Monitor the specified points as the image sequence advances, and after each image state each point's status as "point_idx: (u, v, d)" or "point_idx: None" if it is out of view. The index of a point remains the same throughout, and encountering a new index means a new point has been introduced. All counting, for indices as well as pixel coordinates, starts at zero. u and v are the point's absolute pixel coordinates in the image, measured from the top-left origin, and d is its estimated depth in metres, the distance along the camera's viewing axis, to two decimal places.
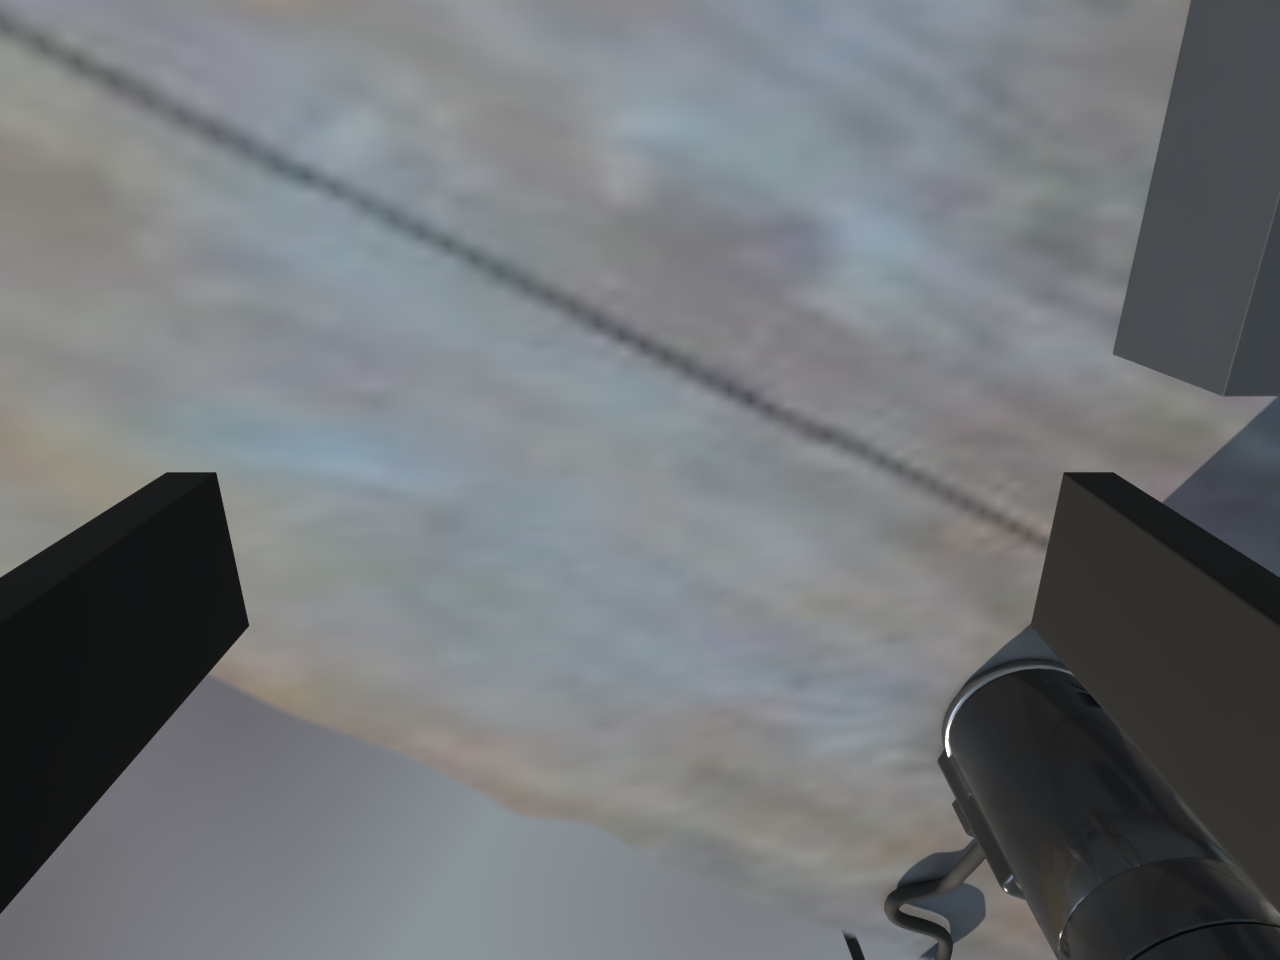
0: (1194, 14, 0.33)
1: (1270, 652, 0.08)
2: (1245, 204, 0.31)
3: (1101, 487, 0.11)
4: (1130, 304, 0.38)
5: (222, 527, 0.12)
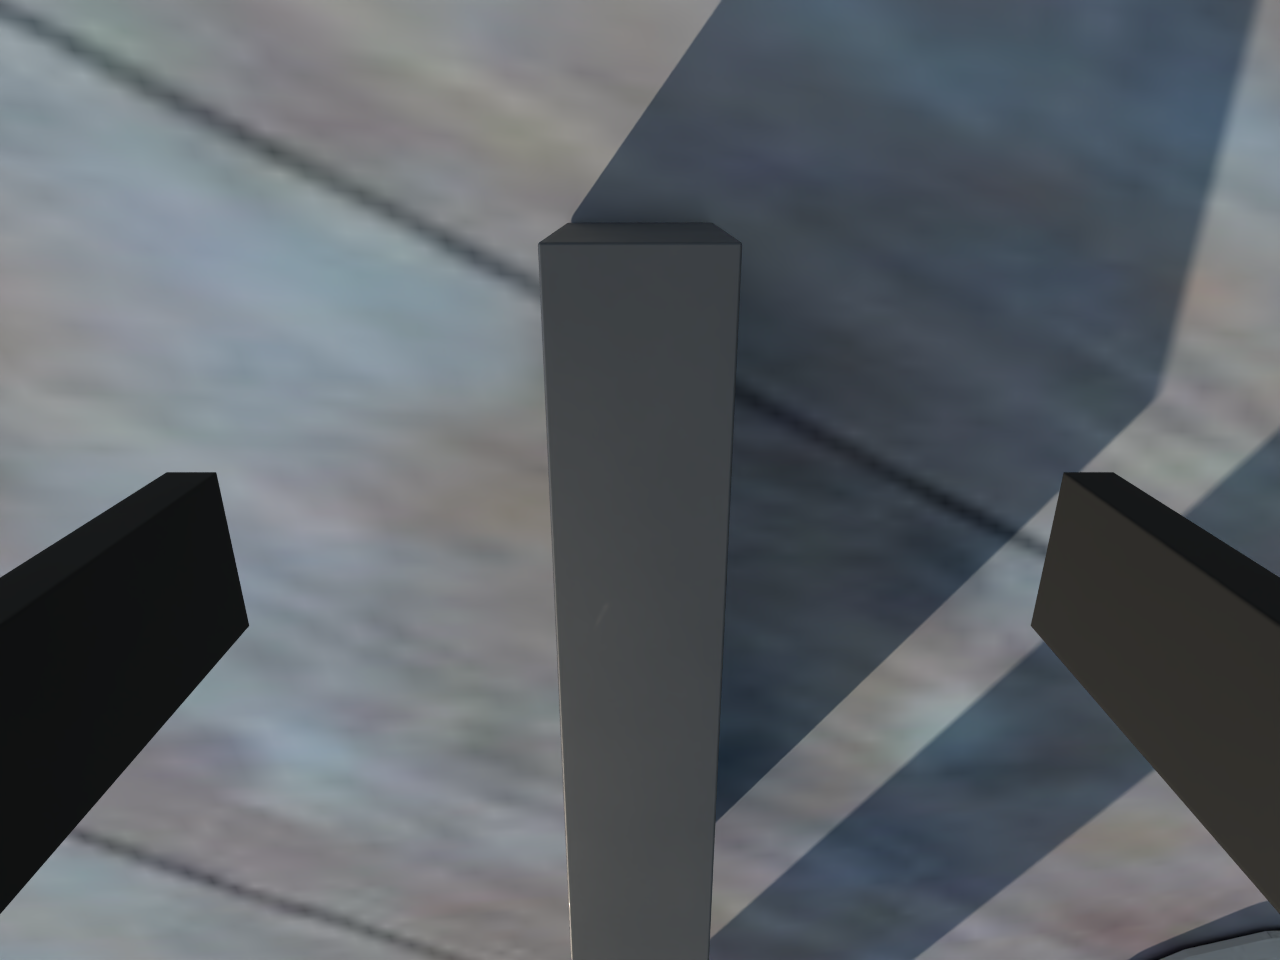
0: None
1: (1269, 652, 0.08)
2: None
3: (1101, 487, 0.11)
4: None
5: (222, 527, 0.12)
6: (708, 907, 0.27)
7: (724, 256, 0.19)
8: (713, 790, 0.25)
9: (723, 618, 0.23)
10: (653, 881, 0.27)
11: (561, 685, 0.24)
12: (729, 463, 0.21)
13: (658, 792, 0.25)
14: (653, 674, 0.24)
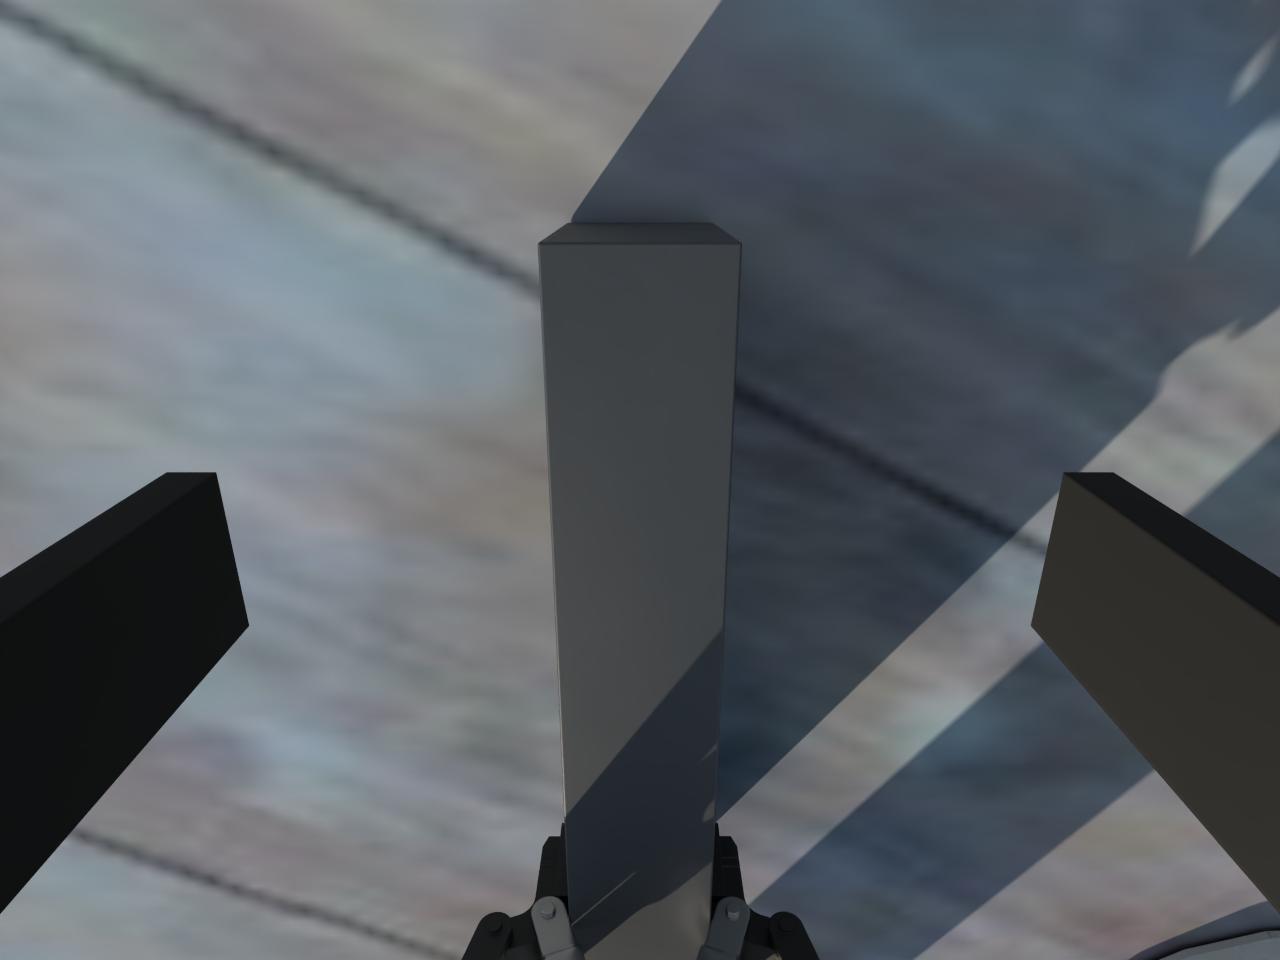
0: None
1: (1269, 652, 0.08)
2: None
3: (1101, 487, 0.11)
4: None
5: (222, 527, 0.12)
6: (708, 907, 0.27)
7: (724, 256, 0.19)
8: (713, 790, 0.25)
9: (723, 618, 0.23)
10: (653, 881, 0.27)
11: (561, 685, 0.24)
12: (729, 463, 0.21)
13: (658, 792, 0.25)
14: (653, 674, 0.24)
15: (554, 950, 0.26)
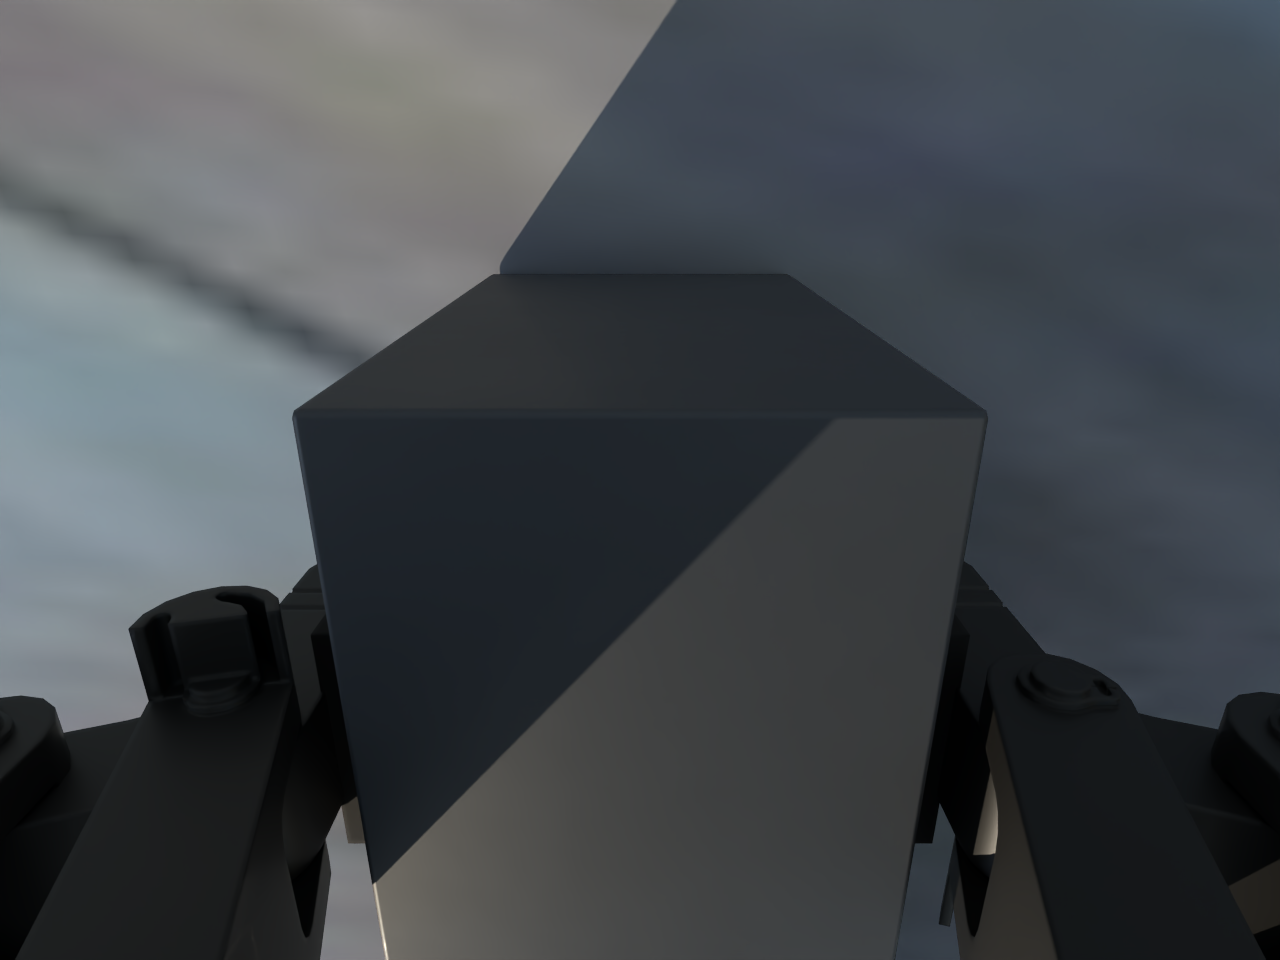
0: None
1: None
2: None
3: None
4: None
5: None
6: None
7: (927, 455, 0.06)
8: None
9: None
10: None
11: None
12: None
13: None
14: None
15: None
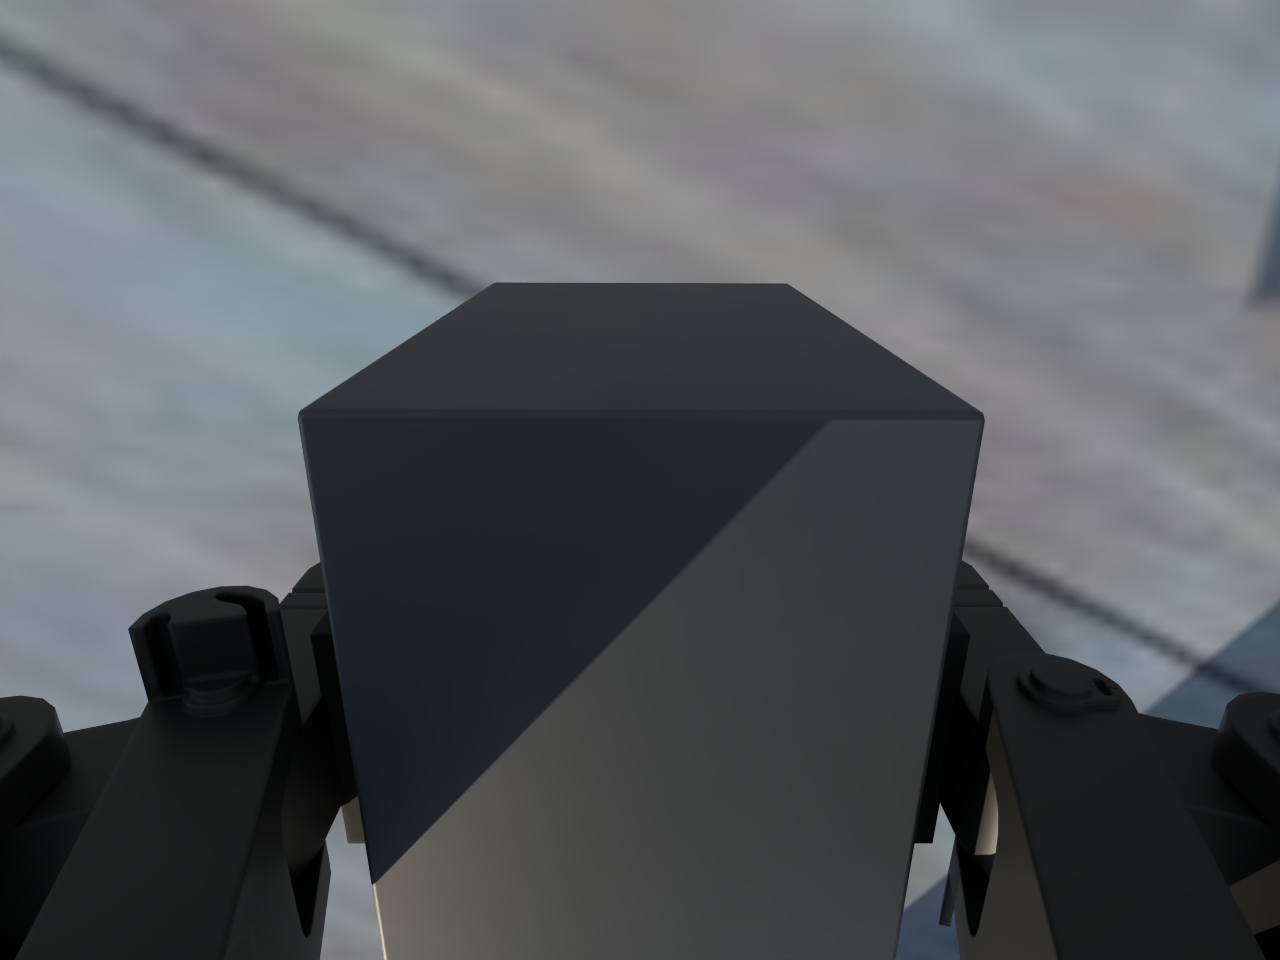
0: None
1: None
2: None
3: None
4: None
5: None
6: None
7: (925, 456, 0.06)
8: None
9: None
10: None
11: None
12: None
13: None
14: None
15: None
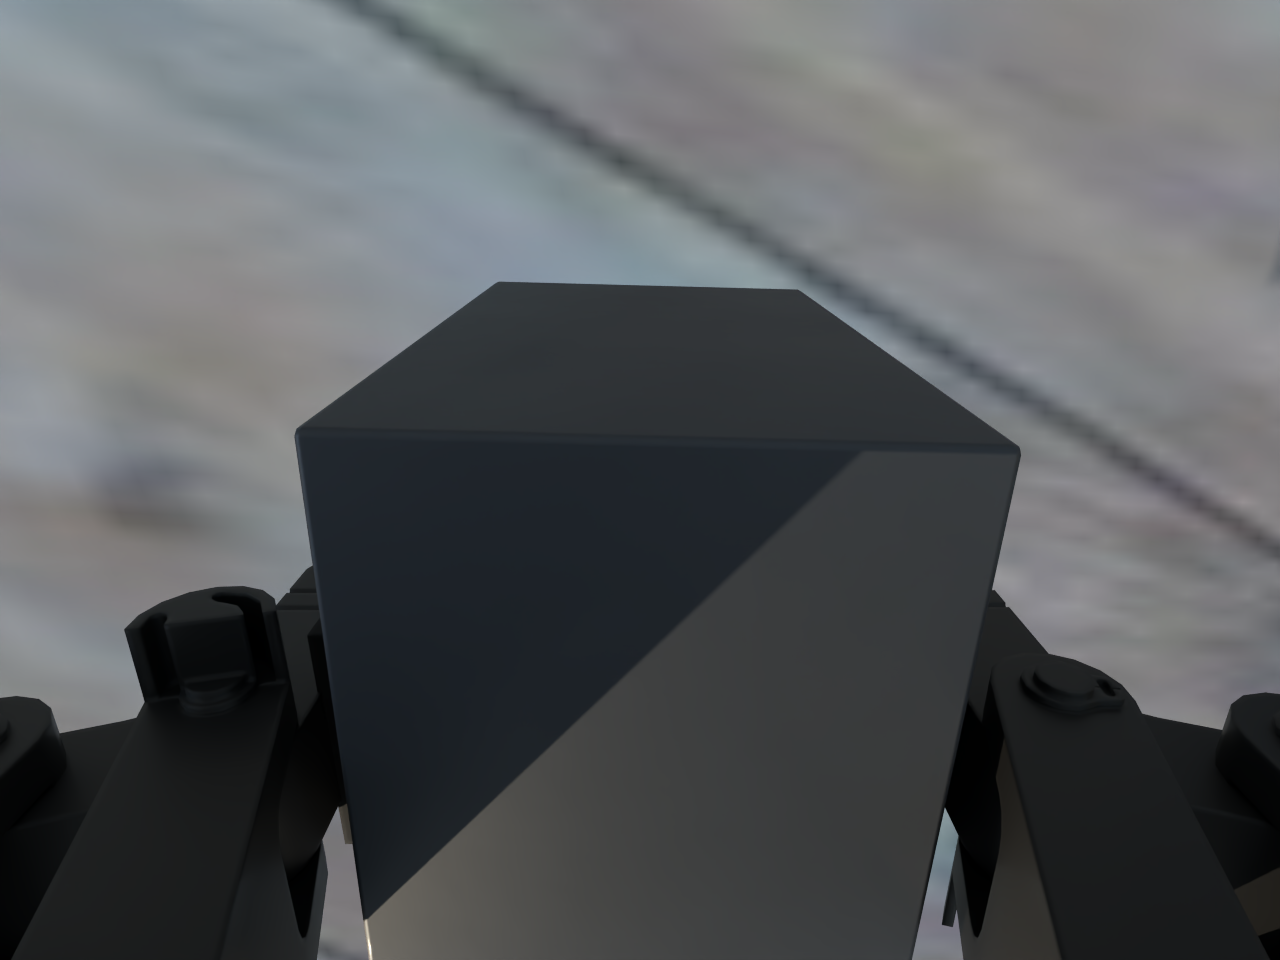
0: None
1: None
2: None
3: None
4: None
5: None
6: None
7: (956, 490, 0.05)
8: None
9: None
10: None
11: None
12: None
13: None
14: None
15: None
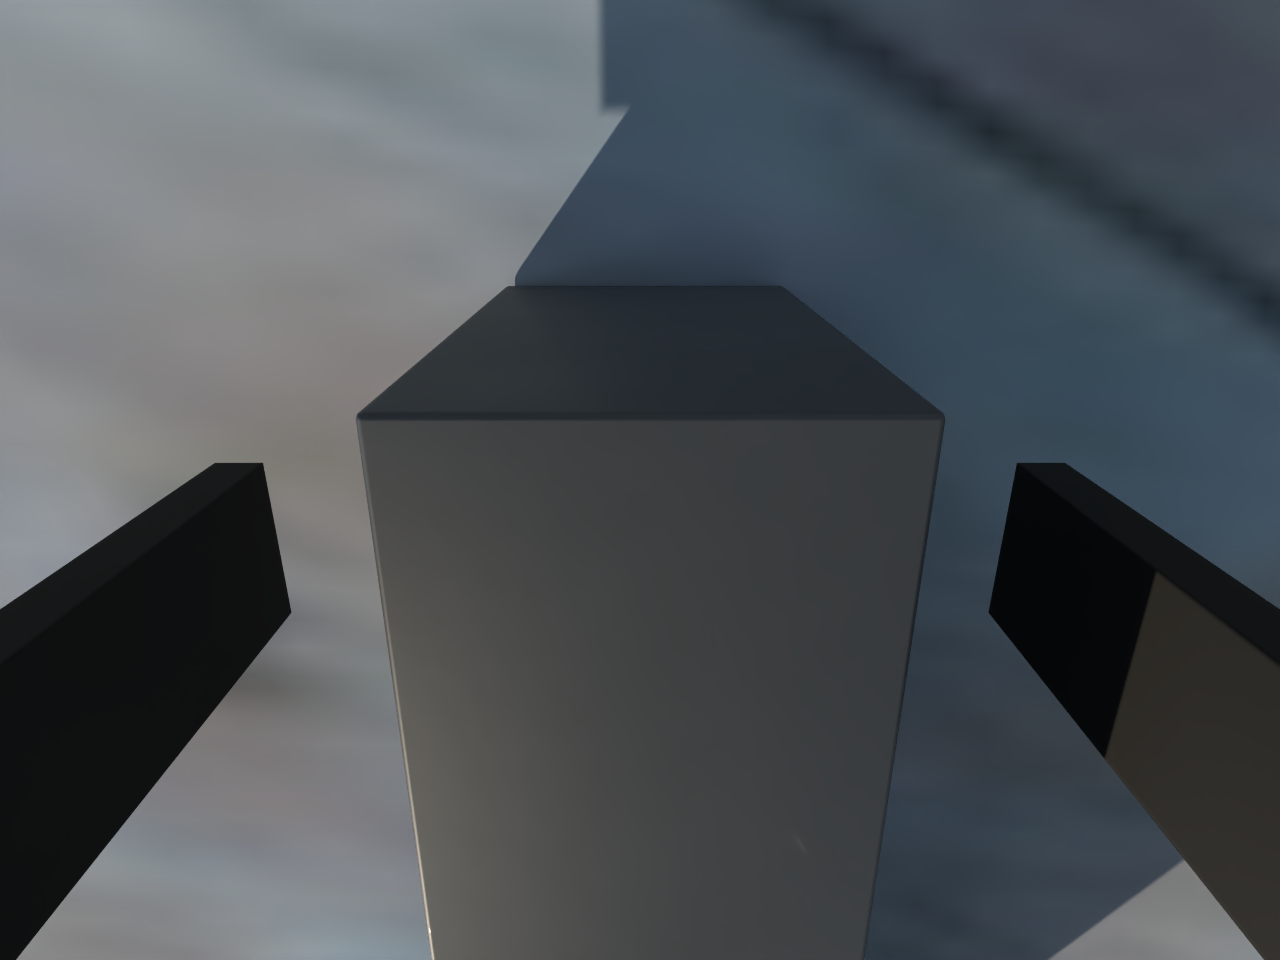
0: None
1: (1192, 630, 0.08)
2: None
3: (1051, 477, 0.12)
4: None
5: (267, 516, 0.12)
6: None
7: (894, 450, 0.07)
8: None
9: None
10: None
11: None
12: (866, 911, 0.09)
13: None
14: None
15: None
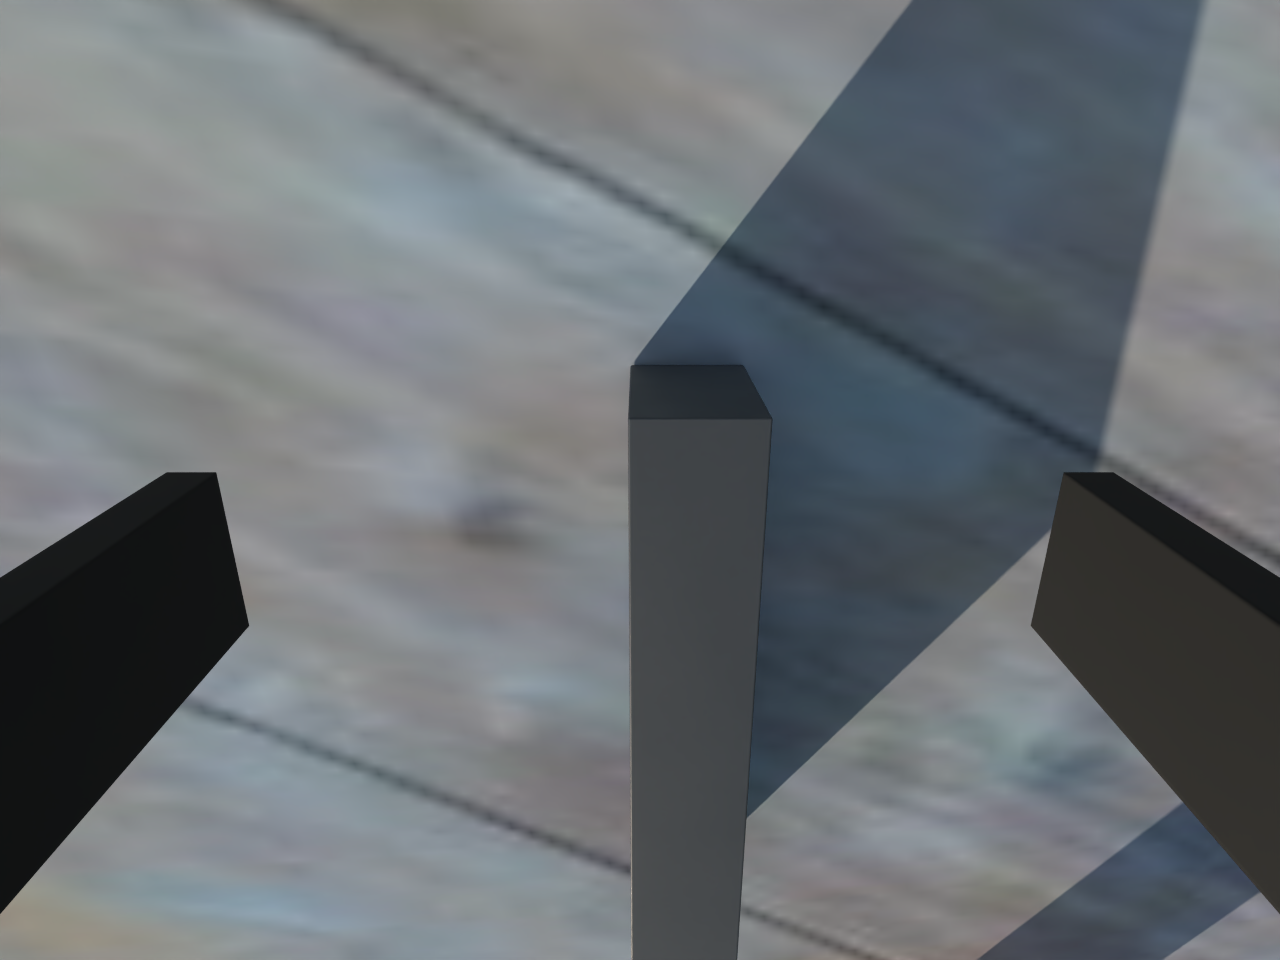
0: None
1: (1269, 653, 0.08)
2: None
3: (1101, 487, 0.11)
4: None
5: (222, 527, 0.12)
6: (739, 892, 0.35)
7: (760, 427, 0.27)
8: (744, 802, 0.33)
9: (754, 675, 0.31)
10: (697, 872, 0.35)
11: (632, 723, 0.32)
12: (761, 566, 0.29)
13: (702, 803, 0.33)
14: (701, 715, 0.31)
15: None
